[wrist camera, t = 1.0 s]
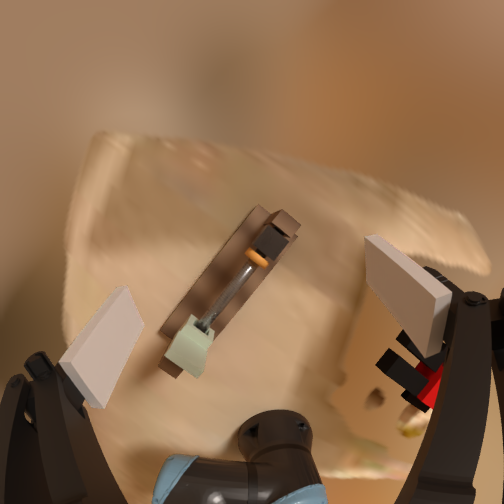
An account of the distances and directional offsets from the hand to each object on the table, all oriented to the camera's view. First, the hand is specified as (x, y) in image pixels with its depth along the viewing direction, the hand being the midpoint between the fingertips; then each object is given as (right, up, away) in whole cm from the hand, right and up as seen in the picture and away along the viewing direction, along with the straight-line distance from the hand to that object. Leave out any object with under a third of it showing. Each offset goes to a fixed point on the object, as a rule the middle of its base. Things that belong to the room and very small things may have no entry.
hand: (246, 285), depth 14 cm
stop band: (+1, +1, +22) cm, 22 cm away
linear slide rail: (-4, -3, +31) cm, 31 cm away
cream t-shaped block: (-8, -9, +23) cm, 26 cm away
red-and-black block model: (+37, -23, +35) cm, 56 cm away
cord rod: (-3, -4, +22) cm, 23 cm away
